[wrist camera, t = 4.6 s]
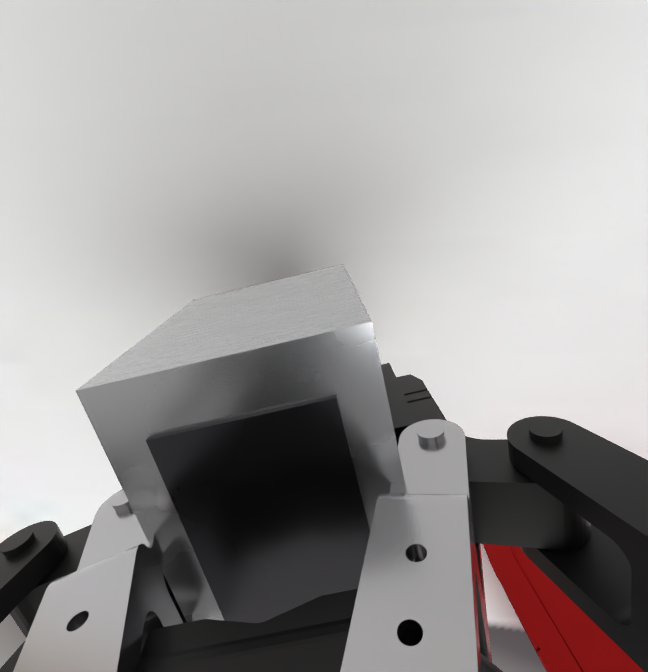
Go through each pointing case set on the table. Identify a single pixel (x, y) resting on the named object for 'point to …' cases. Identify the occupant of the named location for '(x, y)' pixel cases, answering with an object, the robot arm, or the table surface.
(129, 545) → the robot arm
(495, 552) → the fire alarm
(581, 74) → the table surface
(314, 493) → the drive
